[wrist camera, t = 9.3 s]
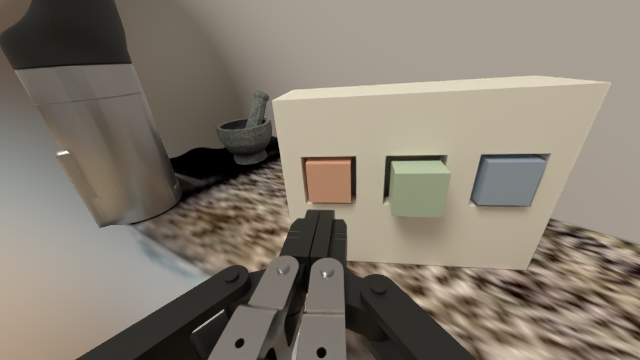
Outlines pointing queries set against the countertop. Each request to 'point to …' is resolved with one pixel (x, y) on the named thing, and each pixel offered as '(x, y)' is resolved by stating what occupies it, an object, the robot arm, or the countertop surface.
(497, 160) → the blue button
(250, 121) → the mortar and pestle
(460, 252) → the control box
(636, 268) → the countertop surface
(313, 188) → the terracotta button
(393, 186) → the sage button
